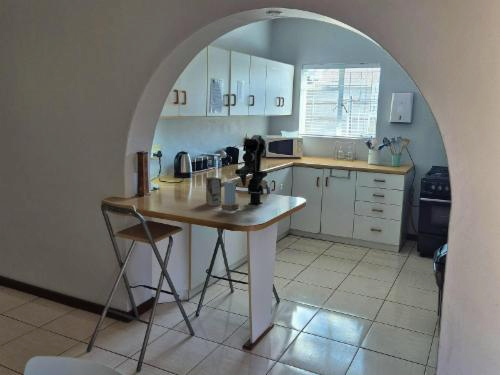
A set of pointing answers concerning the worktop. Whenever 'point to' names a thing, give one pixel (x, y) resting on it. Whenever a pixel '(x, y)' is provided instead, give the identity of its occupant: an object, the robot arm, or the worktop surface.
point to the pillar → (229, 192)
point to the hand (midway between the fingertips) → (250, 187)
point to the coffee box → (213, 191)
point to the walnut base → (229, 208)
